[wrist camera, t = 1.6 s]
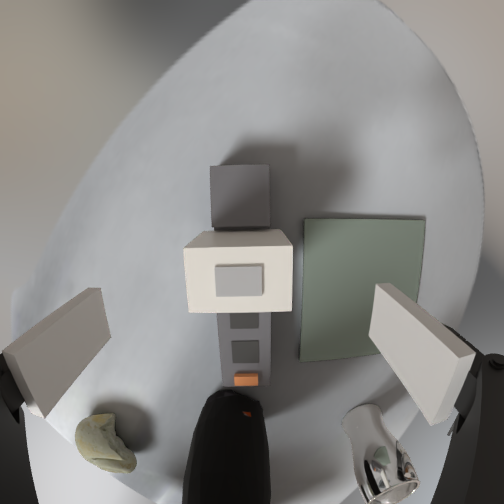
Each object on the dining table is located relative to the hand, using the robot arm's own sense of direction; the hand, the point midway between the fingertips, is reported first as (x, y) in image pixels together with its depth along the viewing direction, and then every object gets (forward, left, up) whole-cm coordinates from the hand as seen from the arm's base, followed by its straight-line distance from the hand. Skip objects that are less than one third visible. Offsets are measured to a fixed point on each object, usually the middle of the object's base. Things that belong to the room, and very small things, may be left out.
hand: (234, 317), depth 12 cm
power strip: (-3, 0, -16) cm, 16 cm away
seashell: (-30, +23, -17) cm, 41 cm away
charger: (0, 0, -14) cm, 14 cm away
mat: (-5, -13, -16) cm, 21 cm away
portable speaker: (-21, +2, -16) cm, 27 cm away
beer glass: (-25, -16, -16) cm, 34 cm away
